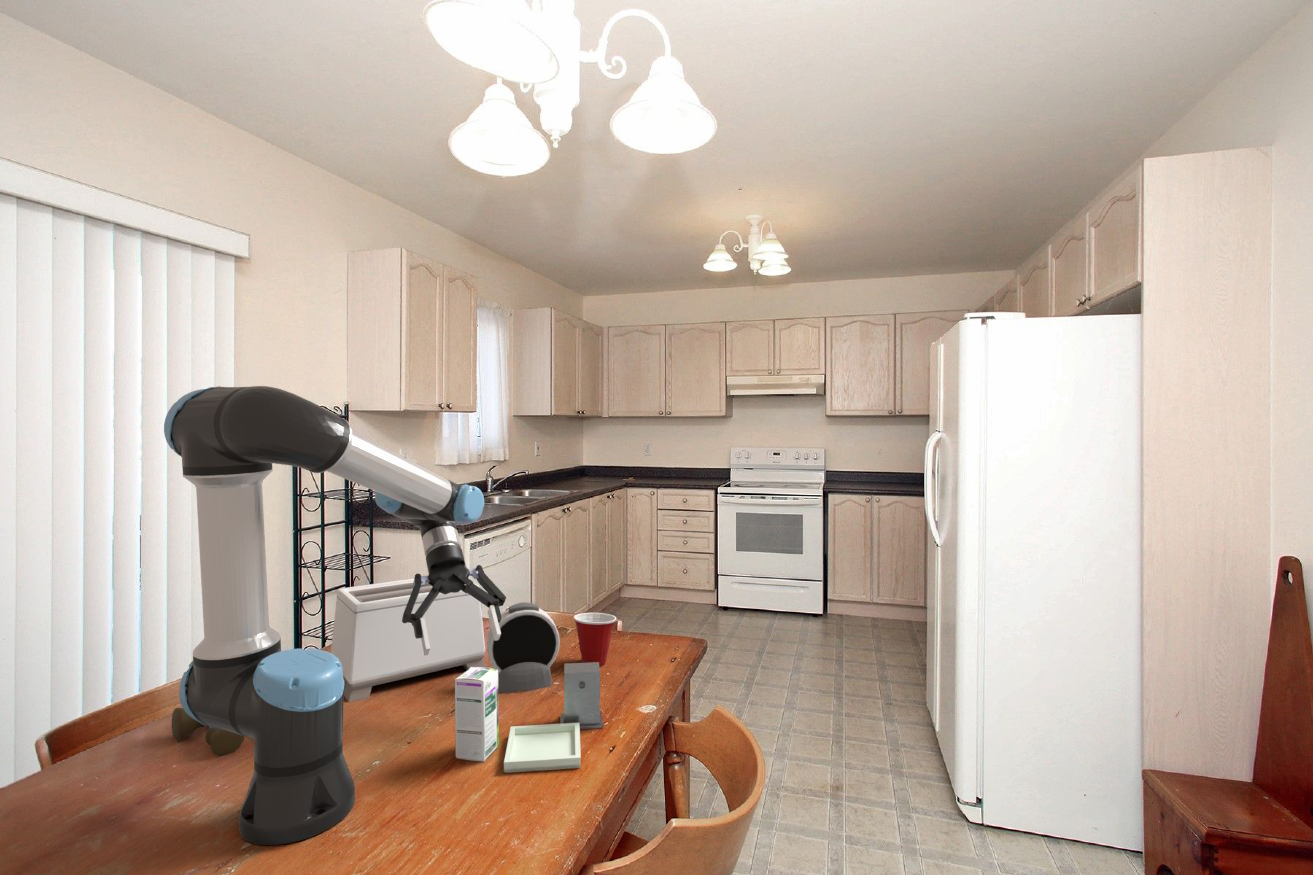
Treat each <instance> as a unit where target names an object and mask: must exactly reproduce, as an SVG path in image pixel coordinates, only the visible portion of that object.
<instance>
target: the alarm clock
mask: <svg viewBox="0 0 1313 875" xmlns="http://www.w3.org/2000/svg"><path fill="white" fill-rule="evenodd" d="M501 616H502V618H501V621H500V623H499V627H500V631H501V635H500V638H499V640H497V641H495V640H494V636H493V632H492V628H491V627H490V628H489V630H488V634H487V637H486V638H487V640H486V646H487V654H488V659H489V661H490V663H491V666H492V668H493V669H497V670H498V693H519V692H518V691H523V692H530V691H536V690H537V691H538V690H540V688H541V689H544V688H548V687H551V686H553V681H552V680H553V679H552V672H551V666H552V665H553V664H554V663H555V661H556V658H557V657H558V654H559V652H560V645H561V644H560V643H561V641H560V640H561V639H560V632H559V631H558V629H557V628H558V627H557V625H556V624H555V622H554V620H553V618H551V616H550V615H549V614H548V612H546V611H545V610H543V609H541V608H540V607H539V605H538V604H536V603H533V602H526V601H525V602H519V603H515V604H513V605H510V606H508V609H507V610H505V611H503V612H502V613H501Z"/></svg>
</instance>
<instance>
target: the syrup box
mask: <svg viewBox="0 0 1313 875" xmlns="http://www.w3.org/2000/svg"><path fill="white" fill-rule="evenodd" d="M454 710H455V711H454V714H455V716H454V719H455V721H454V722H455V725H454V728H455V729H454V730H455V732H454V733H455V758H456V759H459V760H466V761H473V762H481V763H482V762H486V761H487V759H488V758H489V757H490V756H491V754H492V753H494V752H495V750H496V749H497V748H498V747H499V746H500V741H499V740H500V739H499V737H500V736H499V735H500V733H499V732H500V730H499V729H500V728H499V727H500V726H499V725H500V724H499V720H500V719H499V692H498V670H497V669H494V668H493V667H492V668H491V667H487V666H486V667H471V668H469V670H468V671H467V670H466V671H464V672H463V673H461V674H460V675H459V676H458V677H456V678H455V679H454Z"/></svg>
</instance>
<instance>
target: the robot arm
mask: <svg viewBox="0 0 1313 875" xmlns="http://www.w3.org/2000/svg"><path fill="white" fill-rule="evenodd" d="M167 411H168V412H167V413H166V416H165V419H164V424H163V433H164V438H165V440H166V443H167V445H168V446H169V448H170V449H171V450H173V452H174V453H176V455H178V456H180V457H181V467H182V477H183V478H184V479H186V480H187V481H188V482H190V483H191V484H192V485H194V487H195V490H196V508H197V509H196V510H197V512H196V513H197V529H198V545H199V547H198V548H199V549H198V550H199V561H200V563H199V565H200V566H199V568H200V581H201V582H200V586H201V600H202V619H203V639H202V640H201V641H200V642H199V644H197V645H196V646H195V647H194V649H193V651H192V661H191V662H190V663H189V664H188V669H187V670H186V671H185V672H183V674H182V677H181V679H180V681H179V682H180V683H179V688H178V697H179V702H180V704H181V708H183V709H184V711H185V712H186V713H187V714H188V715H189V716H190V717H191V718H193V719H195V720H197V721H198V722H200V723H201V724H203V725H206V726H209V727H210V728H215V729H222V730H226V731H229V732H232V733H235V734H239V735H242V736H244V738H245V737H246V738H249V739H252V740H253V761H254V762H253V765H254V766H253V773H252V776H251V778H250V779H251V780H250V783H249V785H248V788H247V791H246V793H245V797H244V800H243V803H242V804H241V805H242V806H241V807H240V811H239V816H238V817H239V819H238V820H239V825H238V826H239V829H238V830H239V835H240V836H241V837H242V839H243V840H245V841H247V842H249V843H251V844H255V845H260V846H278V845H279V846H280V845H284V844H285V845H286V844H291V843H296V842H298V841H303V840H306V839H308V838H311V837H315V836H317V835H319V834H322V833H323V832H326V831H327V830H328V829H330V828H333V827H334V826H336V825H337V824H338V823H340V821H343V819H345V818H346V817H347V815H348V814H350V812H351V811H352V809H353V807H354V806H355V802H356V800H355V799H356V794H355V793H356V791H355V790H356V786H355V782H354V779H353V776H352V773H351V771H350V768H349V766H348V763H347V761H346V758H345V755H344V752H343V751H344V750H343V747H344V746H343V745H344V744H343V740H344V739H343V738H344V736H343V735H344V734H343V733H344V702H345V701H344V699H345V697H344V688H345V684H346V683H345V681H344V679H343V671H342V664H341V662H340V660H339V659H338V658H337V657H336V656H335V655H333V654H331V652H330V651H326V650H323V649H319V648H308V649H303V648H292V649H285V650H282V642H281V641H282V640H281V639H282V638H281V634H280V632H279V631H276V629H273V628H272V627H270V618H269V617H270V616H269V614H270V613H269V600H268V599H269V598H268V594H269V593H268V583H267V582H268V579H267V578H268V576H267V561H266V560H267V558H266V557H267V556H266V539H265V515H264V514H265V513H264V496H263V482H264V480H265V479H266V478H267V477H268V476H269V475H270V474H271V473H272V472H273V464H276V465H285V466H291V467H296V468H300V469H303V470H305V471H308V472H311V473H314V474H322V473H325V472H328V473H331V474H333V475H335V476H337V477H340V478H343V479H345V480H347V481H350V482H352V483H355V484H357V485H359V486H362V487H363V488H365V489H366V488H367V489H369V490H371V491H373V492H375V493H374V494H375V495H374V499H375V503H376V505H377V506H378V507H379V509H382V510H383V511H385V512H386V513H387V514H389V515H393V516H395V517H396V518H399V519H401V520H403V521H406V522H407V523H409V524H412V525H413V526H416V527H417V528H419V532H420V536H421V540H422V546H423V551H424V556H425V561H426V562H425V564H426V567H427V572H428V574H427V575H421V574H420V573H416V574H415V575H414V578H413V579H414V582H413V584H414V588H413V590H412V593H411V595H410V598H409V601H408V603H407V606H406V608H405V611H404V613H403V618H402V622H403V623H407V622H408V623H412V626H413V627H414V633H415V637H416V639H418V638H421V640H422V646H423V651H424V656H425V655H428V654H429V651H430V644H429V639H428V633H427V628H426V622H425V617H424V618H422V617H423V615H424V614H425V612H426V611H427V609H428V608H429V607H430V605H431V604H432V602H433V601H434V599H435V598H436V597H437V596H438V594H439V593H443V594H449V593H451V592H452V593H456V592H459V591H460V590H462V591H463V592H465V593H468V594H470V595H471V596H472V597H474V598H475V599H477V600H478V601H480V602H481V603H482V605H484V606H485V607H487V608H488V611H487V615H488V619H489V623H490V628H492V632H493V636H494V640H495V641H497V640H499V638H500V635H501V631H500V627H499V623H500V621H501V618H502V616H501V614H502V613H501V610H500V607H502V606H504V604H505V603H506V600H507V597H506V595H505V594H504V593H503V592H502V590H501V589H500V588H499V587H498V586H497V585H496V584H495V583H494V582H493V581H492V579H491V578H489V577H488V576H487V574H486V573H485V570H484V569H483V566H482V565H481V564H477V565H476V566H475V567H474V568H470V569H469V568H468V567H467V564H466V560H465V557H464V556H465V555H464V553H463V549H462V544H461V540H460V536H459V532H458V528H457V524H464V523H465V524H471V523H474V522H476V521H477V520H478V519H479V518H480V517H481V516H482V514H483V511H484V507H485V497H484V494H483V492H482V490H481V489H480V488H478V487H477V486H475V485H470V484H469V485H468V484H467V483H466V484H458V483H456V482H454V481H452V480H450V479H447V478H445V477H443V476H442V475H440V474H438V473H436V472H434V471H431V470H429V469H428V468H426V467H424V466H422V465H420V464H418V463H416V462H415V461H412V460H411V459H409V458H406V457H405V456H402V455H401V454H399V453H396V452H395V451H392V450H391V449H390V448H387V447H385V446H384V445H382V444H380V443H377V442H376V441H374V440H372V439H370V438H368V437H366V436H364V435H362V434H360V433H358V432H356V431H354V430H352V427H351V425H350V423H349V421H348V420H346V419H345V418H344V417H341V416H340V415H338V414H336V413H334V412H332V411H330V410H328V409H326V408H324V407H322V406H320V405H318V404H316V403H314V402H313V401H311V400H308V399H306V398H304V397H301V396H299V395H297V394H295V393H293V392H290V391H287V390H285V389H281V388H278V387H273V386H266V385H252V386H220V385H219V386H210V387H207V388H201V389H197V390H196V389H195V390H193V391H190V392H187V393H186V394H184V395H183V396H181V397H180V398H178V399H177V401H175V402H174V403H173V404H172V405H171V407H170V409H169V410H167ZM456 523H457V524H456ZM470 576H471V577H472V578H473V579H474V580H476V581H477V583H478V584H477V585H479V587H480V586H481V587H482V588H481V587H480V588H479V587H478V586H477V585H475V584H476V583H475V584H474V581H473V580H472V579H470V578H469V577H470ZM426 582H428V583H429V584H430V585H431V586H432V589H431V591H430V592H429V594H428V595H427V597H426V598H425V599H424V601H423V602H422V604H421V605H420V607H419V608H418V609H417V611H416V612H415V614H411V613H412V610H413V607H414V605H415V602H416V600H417V597H418V594H419V591H420V587H423V586H424V584H425V583H426ZM465 584H466V585H465ZM206 726H205V727H206Z"/></svg>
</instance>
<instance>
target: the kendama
mask: <svg viewBox="0 0 1313 875" xmlns="http://www.w3.org/2000/svg"><path fill="white" fill-rule="evenodd" d="M205 727H206V729H207V731H206V733H205V737H204V738H205V742H206V743H207V744H208V745H209V746H210V751H211V753H212V754H213V756H217V757H223V756H226V755H229V754H232V753H234V752H236V751H237V750H239V748H241V746H242V745H243V742H244V738H245V736H242V735H239V734H235V733H232V732H229V731H226V730H222V729H215V728H210V727H209V726H206V725H203V724H201V723H200V722H198V721H197V720H195V719H193V718H191V717H190V716H189V715H188V714H187V713H186V712H185V711H184V709H183V707H175V708H174V709H173V711H172V715H171V732H172V736H173V738H174V740H175V741H176V742H177V743H179V742H180V743H181V741H183V740H184V739H185V738H187V737H188V736H189V735H191V734H192V733H193V732H195V731H196V730H198V729H201V728H205Z"/></svg>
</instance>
